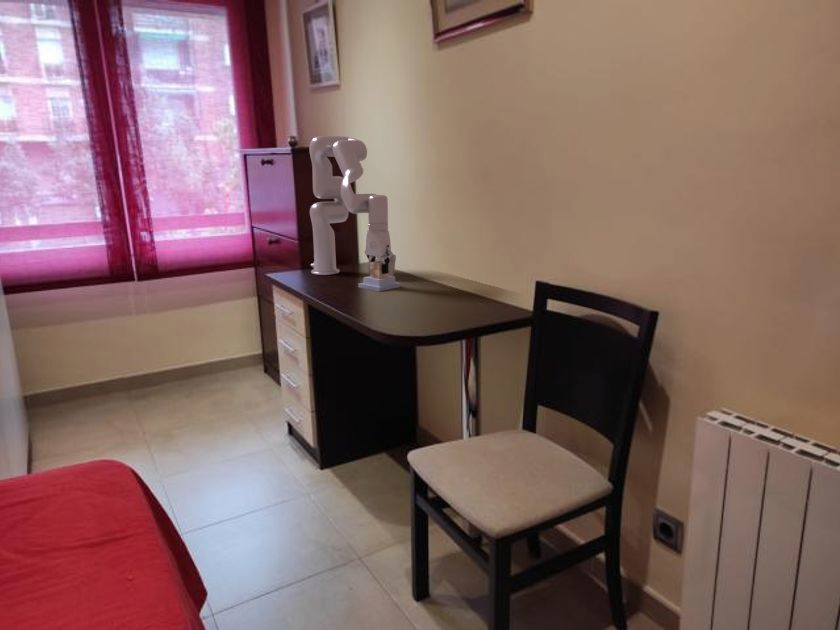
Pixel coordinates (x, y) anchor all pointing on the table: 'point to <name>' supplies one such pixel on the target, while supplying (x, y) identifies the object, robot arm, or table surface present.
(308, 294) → the table surface
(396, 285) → the plinth
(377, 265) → the beech block
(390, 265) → the mug
